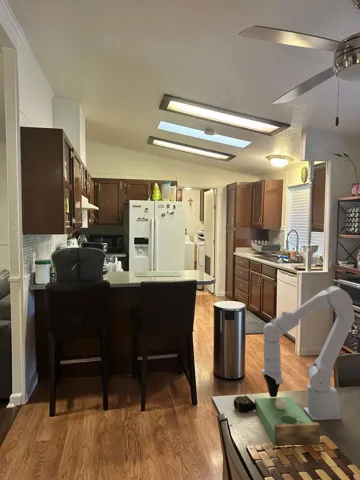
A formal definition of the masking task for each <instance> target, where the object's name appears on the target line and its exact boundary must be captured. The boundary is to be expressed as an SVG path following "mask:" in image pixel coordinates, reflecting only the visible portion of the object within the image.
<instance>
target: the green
mask: <svg viewBox="0 0 360 480" xmlns="http://www.w3.org/2000/svg"><path fill="white" fill-rule="evenodd" d="M278 398H283V399H284V400H285V401H286V403H287V407H286V409H284V410H279V409H278V408H277V407H276V404H275V403H276V400H277V399H278ZM254 403H255V404H256V409H255V410H254V411H255V413H256V414H257V417H258V418H259V419H260V421H261V423H262V425H263V427H264V428H265V431H266V433H267V434H268V436H269V438H270V440H271V441H272V443H273V445H274V444H276V438H275V437H276V436H275V435H276V434H275V433H274V425H278V424H297V423H313V421H312V419H310V417H308V416H307V415H306V412H304V411H303V409H301V407H300V406H299V405H298V404H297V402H296V401H295V400H294V399H293V398H292V397H291V396H281V397H260V398H258V397H257V398H254ZM292 434H293V433H292ZM287 435H288V434H287ZM302 435H303V434H302ZM280 436H281V435H280ZM285 436H286V435H285ZM302 437H303V436H302ZM280 438H281V437H280ZM283 438H284V436H283ZM283 438H282V440H283ZM285 438H286V437H285ZM317 438H318V437H317ZM287 439H288V438H287ZM277 440H278V436H277ZM288 440H289V439H288ZM290 440H291V439H290ZM295 440H296V439H295ZM295 440H294V441H295ZM300 440H301V439H300ZM302 440H303V439H302ZM310 440H311V439H310ZM312 440H313V439H312ZM307 441H308V440H307ZM315 441H316V440H315ZM317 441H318V440H317ZM277 442H278V441H277ZM282 442H283V441H282ZM282 442H281V443H282ZM285 442H286V441H285ZM290 442H291V441H290ZM302 442H303V441H302ZM308 442H309V441H308ZM308 442H307V443H308ZM312 442H313V441H312ZM283 443H284V442H283ZM297 443H298V442H297ZM310 443H311V442H310ZM315 443H316V442H315ZM317 443H319V442H317ZM317 443H316V444H317ZM278 444H279V443H278ZM313 444H314V443H313ZM297 445H298V444H297ZM317 445H318V444H317ZM277 446H278V445H277Z"/></svg>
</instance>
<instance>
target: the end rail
mask: <svg viewBox="0 0 360 480" xmlns="http://www.w3.org/2000/svg"><path fill="white" fill-rule="evenodd" d="M274 433H275V434H276V435H275V436H276V437H275V438H276V444H275V445H276V446H277V445H278V446H285V445H297V444H298V445H317V444H318V445H320V446H321V428H320V423H319V422H312V423H297V424H278V425H274ZM292 433H293V434H292ZM287 434H288V435H287ZM302 434H303V435H302ZM280 435H281V436H280ZM285 435H286V436H285ZM277 436H278V440H277ZM283 436H284V438H283ZM302 436H303V437H302ZM280 437H281V438H280ZM285 437H286V438H285ZM317 437H318V438H317ZM282 438H283V440H282ZM287 438H288V439H289V440H288V439H287ZM290 439H291V440H290ZM295 439H296V440H295ZM300 439H301V440H300ZM302 439H303V440H302ZM310 439H311V440H310ZM312 439H313V440H312ZM294 440H295V441H294ZM307 440H308V441H309V442H308V441H307ZM315 440H316V441H315ZM317 440H318V441H317ZM277 441H278V442H277ZM282 441H283V442H284V443H283V442H282ZM285 441H286V442H285ZM290 441H291V442H290ZM302 441H303V442H302ZM312 441H313V442H312ZM281 442H282V443H281ZM297 442H298V443H297ZM307 442H308V443H307ZM310 442H311V443H310ZM315 442H316V443H317V442H319V443H317V444H316V443H315ZM278 443H279V444H278ZM313 443H314V444H313ZM275 445H274V446H275Z"/></svg>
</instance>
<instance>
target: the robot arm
mask: <svg viewBox="0 0 360 480" xmlns="http://www.w3.org/2000/svg"><path fill="white" fill-rule="evenodd" d="M353 302H354V301H353V299H352V298H351V296H350V295H349V293H348V292H347V291H346V290H344V289H342V288H341V287H339V286H336V285H331V286H329V287H327V288H326V289H323V290H321V291H320V292H318V293H317V294H316V295H314V296H312V297H311V298H310V299H308V300H307V301H306V302H304V303H303V304H301V306H299V307H298V308H296V309H295V310H287V311H285V310H283V311H281V315H279V316H278V317H276V318H275V319H273V318H272V319H271V320H270V322H268V323H266V324H264V326H263V327H262V328H263V329H262V334H263V369H260V372H261V374H263V375H262V376H263V377H264V379H265V383H266V385H267V391H268V394H269V396H270V397H269V398H278V397H277V396H278V392H279V387H280V385H282V384H283V383H284V382H283V381H284V379H283V377H282V365H281V364H282V362H281V358H282V357H281V345H280V339H281V336H282V335H285V334H286V333H288V332H290V331H291V330H293V329H294V328H296V327H297V326H299V324H300V320H301V319H302V318H304V317H306V316H308V315H309V314H311V313H313V312H315V311H316V310H318V309H319V308H329V309H330V308H331V306H332V308H333V311H334V313H335V314H336V318H335V321H334V323H333V325H332V327H331V329H330V332H329V334H328V335H327V338H326V340H325V342H324V344H323V346H322V349H321V351H320V352H319V355H318V357H317V358H316V359H314V362H313V363H312V364H310V365H309V366H308V367H307V371H306V372H307V373H306V374H307V376H308V378H309V382H308V383H307V406H304V407H303V410H304V411H305V413H306V414H307V415H308V416H309V418H311V420H313V421H323V420H324V421H326V420H327V421H329V420H340V419H342V418H341V416H340V414H341V413H340V396H339V393H338V391H337V389H336V388H335V387H333V386H331V384H332V383H331V381H332V379H331V378H332V376H333V371H334V365H335V362H336V360H337V358H338V356H339V354H340V352H341V350H342V348H343V346H344V343H345V341H346V339H347V337H348V335H349V332H350V331H351V329H352V326H353V324H354V322H355V318H356V317H355V310H354V305H353V304H354V303H353Z"/></svg>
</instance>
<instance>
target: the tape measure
mask: <svg viewBox="0 0 360 480" xmlns="http://www.w3.org/2000/svg"><path fill="white" fill-rule="evenodd" d="M233 407H234V409H235V410H236V411H237V412H239V413H249V412H252V411H255V409H256V404H255V401H253V400H252V399H250V397H249V396H248V395H239V396H236V397H235V398H234V399H233Z"/></svg>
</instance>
